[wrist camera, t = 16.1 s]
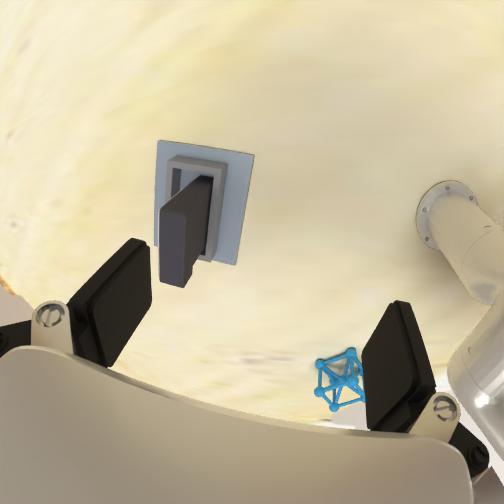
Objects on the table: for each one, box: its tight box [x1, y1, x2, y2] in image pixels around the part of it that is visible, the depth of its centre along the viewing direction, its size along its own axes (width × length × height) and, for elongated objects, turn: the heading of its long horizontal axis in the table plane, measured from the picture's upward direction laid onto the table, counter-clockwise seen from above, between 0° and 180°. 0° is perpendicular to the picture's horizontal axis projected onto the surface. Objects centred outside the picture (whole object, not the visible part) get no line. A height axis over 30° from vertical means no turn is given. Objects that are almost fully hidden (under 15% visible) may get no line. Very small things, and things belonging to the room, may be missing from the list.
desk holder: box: [154, 140, 254, 266], centre depth 47 cm, size 16×20×4 cm
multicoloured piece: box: [158, 175, 214, 288], centre depth 42 cm, size 11×4×15 cm, turn 171°
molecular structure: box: [314, 348, 365, 412], centre depth 59 cm, size 10×10×10 cm
